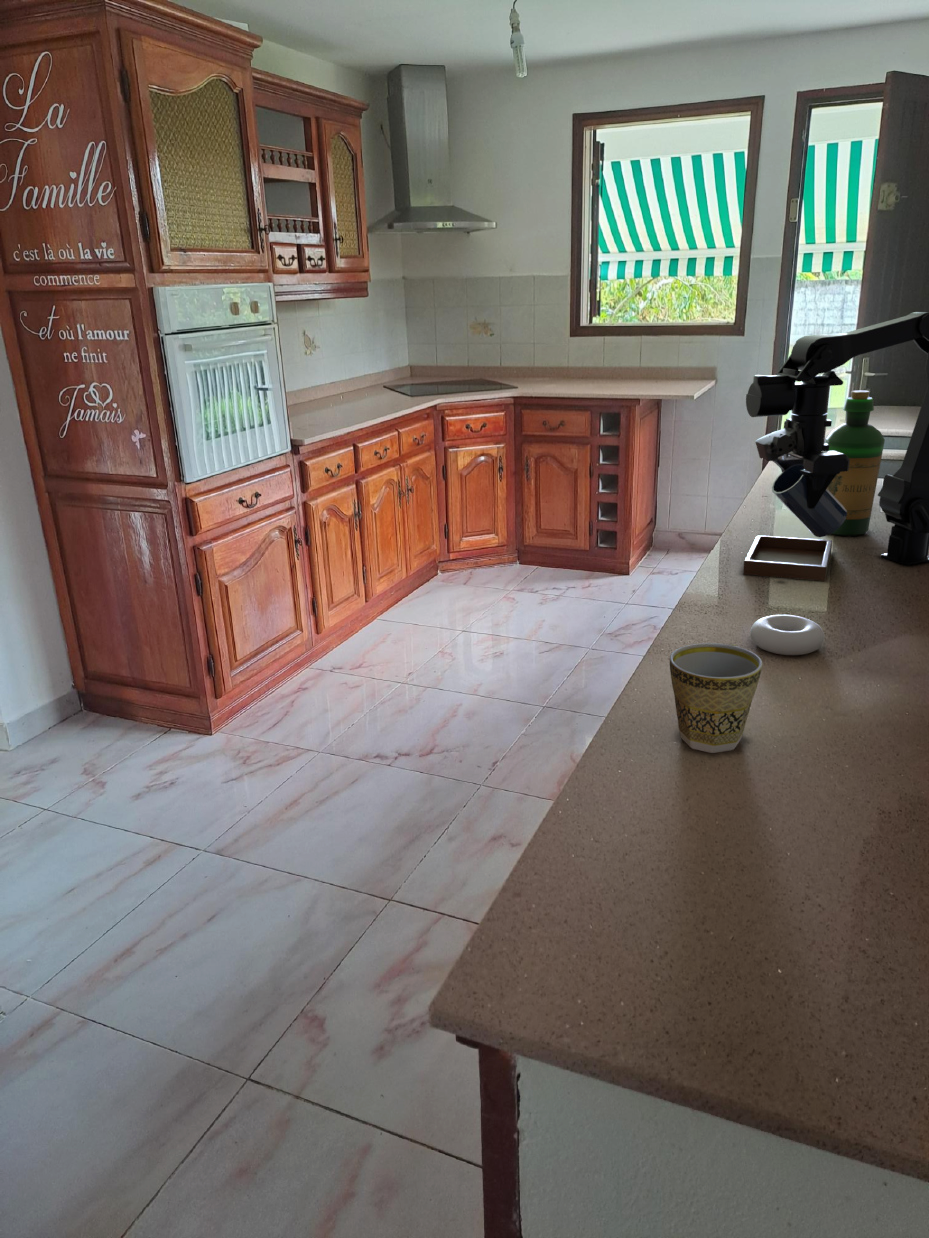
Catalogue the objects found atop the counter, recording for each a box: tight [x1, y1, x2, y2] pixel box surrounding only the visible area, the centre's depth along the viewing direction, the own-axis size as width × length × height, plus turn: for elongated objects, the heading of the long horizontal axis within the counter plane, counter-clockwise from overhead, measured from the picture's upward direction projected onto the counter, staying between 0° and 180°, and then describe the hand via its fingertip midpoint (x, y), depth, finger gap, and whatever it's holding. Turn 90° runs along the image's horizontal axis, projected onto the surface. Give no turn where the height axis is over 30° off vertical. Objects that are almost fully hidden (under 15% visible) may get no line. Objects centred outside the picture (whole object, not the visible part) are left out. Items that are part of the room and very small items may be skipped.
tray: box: [742, 534, 833, 582], centre depth 161 cm, size 18×14×3 cm
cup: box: [771, 463, 847, 538], centre depth 155 cm, size 7×7×12 cm
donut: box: [749, 614, 825, 656], centre depth 126 cm, size 10×4×10 cm
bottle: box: [825, 389, 886, 537], centre depth 175 cm, size 11×11×28 cm
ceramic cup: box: [668, 642, 763, 754], centre depth 101 cm, size 13×10×10 cm
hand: (800, 503), depth 155 cm, fingers closed on cup, 7 cm apart
